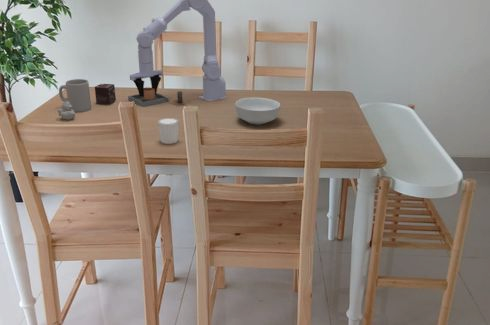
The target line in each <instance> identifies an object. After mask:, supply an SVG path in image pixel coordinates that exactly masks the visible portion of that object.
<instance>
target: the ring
mask: <svg viewBox="0 0 490 325" xmlns="http://www.w3.org/2000/svg"><path fill="white" fill-rule="evenodd" d="M141 98H142V99H154V98H155V89H154V88H152V87H144V97H142V96H141Z"/></svg>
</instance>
